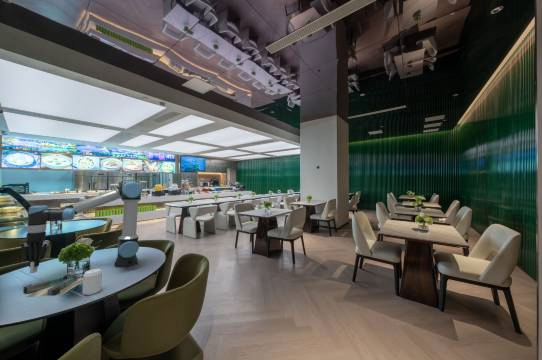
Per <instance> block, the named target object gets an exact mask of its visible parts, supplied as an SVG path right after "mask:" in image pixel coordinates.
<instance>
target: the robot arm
mask: <svg viewBox="0 0 542 360" xmlns="http://www.w3.org/2000/svg"><path fill="white" fill-rule="evenodd" d="M142 192H143V188H142V185H141V184H140V183H138V181H127V182H126V183H124V184H122V185H120V186H117V187H115V188H114V189H112V190H110V191H109V190H108V191H107V192H104V193H100V194H97V195H95V196H91V197H89V198H86V199H83V200H81V201H78V202H75V203H71V204H69V205H66V206H63V207H60V208H49V206H48V205H31V206H30V207H28V213H27V227H26V235H25V236H26V242H25V243H24V244H21V245H20V247H21V248H22V253H23V258H24V261H26V262H27V261H28V268H29V274H36V273H38V268H39V266H40V261H42V260H44V259H45V256H46V254H47V253H46V252H47V250H48V247H49V246H50V245H51V243H50V242H47V241H46V239H45V238H46V237H47V232H46V231H47V223H48V222H55V221H56V222H57V221H66V222H67V221H72V220H74V219H75V216H76V215H78V214H81V213H84V212H86V211H89V210H92V209H95V208H98V207H100V206H103V205H107V204H109V203H111V202H114V201H117V200H119V199H120V200H121V201H122V202H123V212H122V213H123V215H122V230H121V235H120V236H118V238H117V257H116V260H115V262H114V265H113V266H114V268H127V267H128V268H129V267H131V266H135V264H137V263H138V264H139V259H138V256H137V254H138V251H139V248H140V246H139V235H137V226H138V212H139V210H138V209H139V202H140V201H141V200H142V199H141V198H142ZM138 264H137V265H138Z"/></svg>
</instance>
